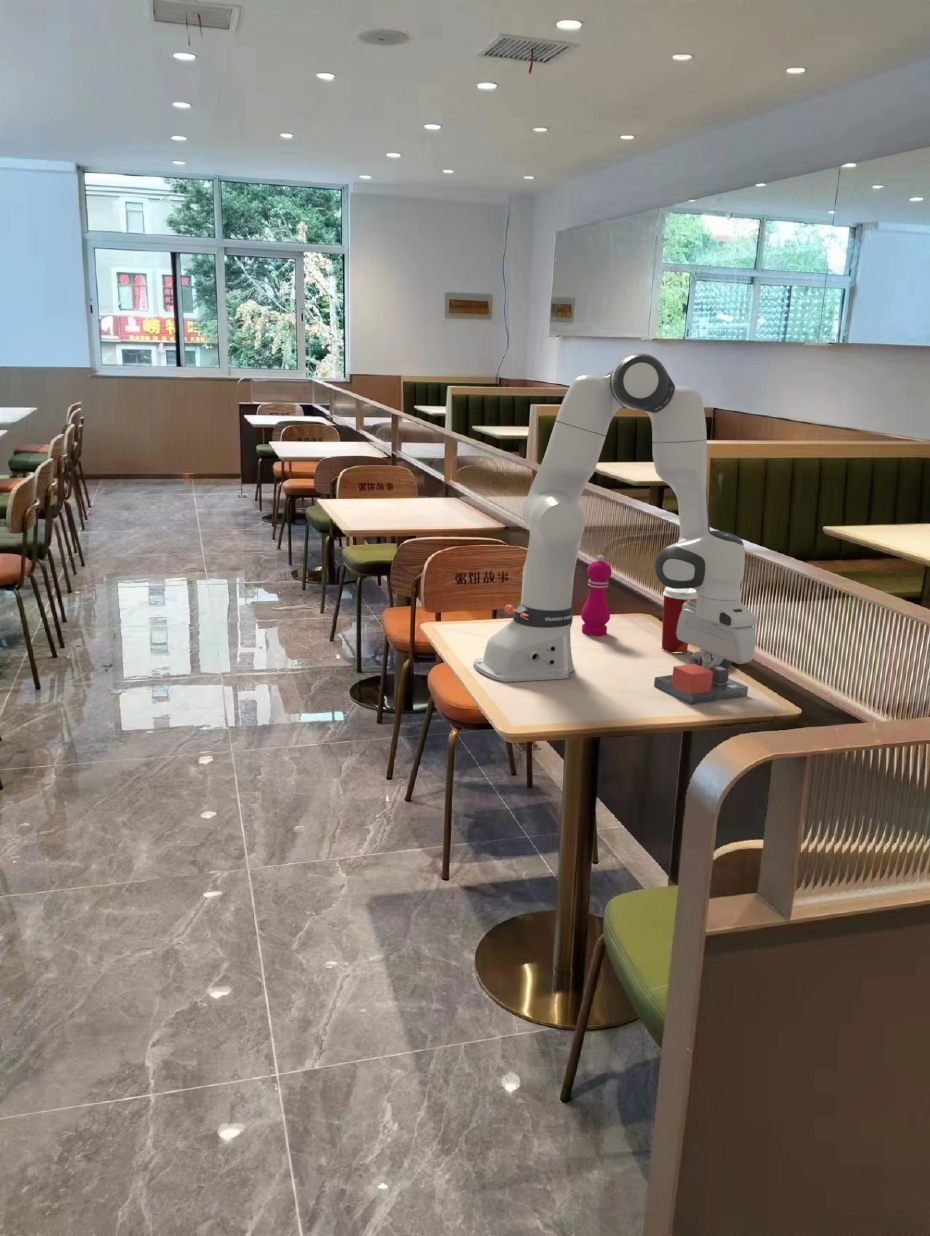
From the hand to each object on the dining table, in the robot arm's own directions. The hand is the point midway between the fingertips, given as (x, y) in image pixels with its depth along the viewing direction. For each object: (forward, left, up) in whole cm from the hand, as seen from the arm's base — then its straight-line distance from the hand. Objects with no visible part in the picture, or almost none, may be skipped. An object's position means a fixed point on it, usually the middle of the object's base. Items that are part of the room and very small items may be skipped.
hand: (709, 671), depth 206 cm
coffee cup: (+11, +24, -3) cm, 26 cm away
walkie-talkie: (+11, +11, -4) cm, 16 cm away
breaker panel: (-4, -2, -3) cm, 6 cm away
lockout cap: (-9, -5, -1) cm, 10 cm away
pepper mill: (+1, +43, -3) cm, 43 cm away
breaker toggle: (0, -3, -1) cm, 3 cm away
